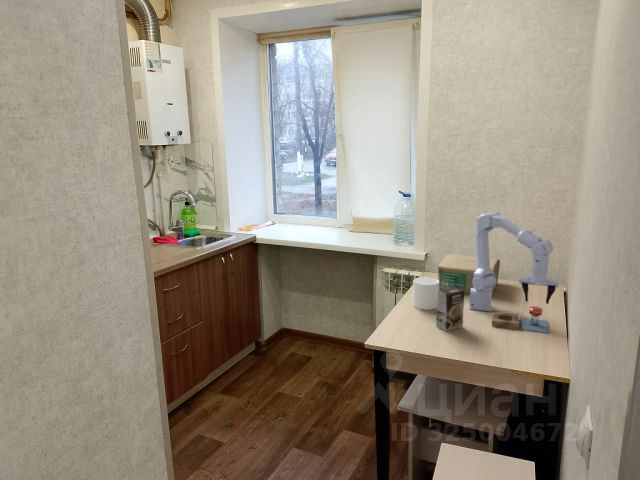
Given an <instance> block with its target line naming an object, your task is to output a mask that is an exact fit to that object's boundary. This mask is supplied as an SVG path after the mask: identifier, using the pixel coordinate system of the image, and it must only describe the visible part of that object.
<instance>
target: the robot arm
mask: <svg viewBox="0 0 640 480" xmlns="http://www.w3.org/2000/svg"><path fill="white" fill-rule="evenodd" d="M495 228H498V229H499V228H501V229H503V230H505V231H507V232H508V233H510V234H512V235H513V236H515V237H516V238H517V242H518V243H520V244H522V245H523V246H525V247H526V248H527V249H529V250H530V252H531V254H532V264H531V266H532V267H531V274H530V276H531V277H529V278H523V277H522V278H521V277H519V278H518V284H519V285H521V287H522V289H523V292H524V299H525V302H527V303H528V302H529V301H528V299H529V298H528V297H529V285H534V286H543V287H547V291H546V298H545V304H547V305H548V304H549V303H550V299H551V297H552V295H554V293H555V291H556V288H559V287H560V286H559V285H560V282H559V281H556V280H555V281H554V280H550V279H548V271H549V261H550V254H551V253H552V252H553V249H554V247H553V244H552V242H551V241H550V240H549V239H543V238H542V237H541V236H540V237H539V236H537V235H536V234H534V233H533V230H531V229H522V228H520V227H519V226H517V225H516V224H514V223H513V222H512V221H511V220H510V219H508V218H507V217H506V216H505V215H504V214H502V213H501V212H499V211H493V212H489V213H482V214H480V215H479V216H478V217H477V218H476V225H475V227H474V240H475V241H474V242H475V252H476V254H475V255H476V256H475V257H477V270H476V271H475V273H474V278H473V281H472V284H473V287H474V288H471V292H470V294H469V303H468V304H469V309H470V310H475V311H483V312H484V311H485V312H493V311H492V310H493V304H492V301H493V300H492V299H493V297H492V295H493V293H492V289H493V286H494V285H495V284H496V278H495V276H494V271H493V270H492V269H491V268H490V258H491V257H490V244H489V243H490V242H489V233H490V232H491V231H492V230H493V229H495ZM496 285H497V284H496Z"/></svg>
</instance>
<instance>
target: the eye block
mask: <svg viewBox="0 0 640 480" xmlns="http://www.w3.org/2000/svg"><path fill="white" fill-rule="evenodd" d="M519 325H520V317H519V314H516V313H508V312H500V311H499V312H498V311H492V318H491V327H495V328H502V329H503V328H504V329H510V330H519V329H520V326H519Z"/></svg>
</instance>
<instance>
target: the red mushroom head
mask: <svg viewBox="0 0 640 480" xmlns="http://www.w3.org/2000/svg"><path fill="white" fill-rule="evenodd" d="M528 311H529V312H528V313H529V314H530V316H531V318H530V319H531V325H532V326H538V325H539V320H540V316H542V315H543V308H541V307H539V306H530V307H529V310H528Z"/></svg>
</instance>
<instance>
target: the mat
mask: <svg viewBox="0 0 640 480" xmlns="http://www.w3.org/2000/svg"><path fill="white" fill-rule="evenodd" d="M520 319H521V330H522V331H529V332H534V333H535V332H536V333H543V334H544V333H545V334H550V328H549V323H548V320H545V319H539V325H538V326H532V325H531V318H528V317H520Z"/></svg>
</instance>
